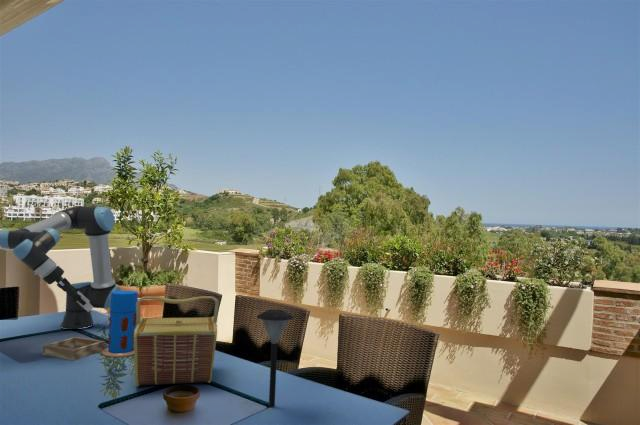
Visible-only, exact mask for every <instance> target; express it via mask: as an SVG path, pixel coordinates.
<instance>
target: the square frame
mask: <svg viewBox="0 0 640 425" xmlns="http://www.w3.org/2000/svg"><path fill="white" fill-rule="evenodd" d="M105 342H106V341H105V340H99V339H92V338H86V337H78V336H74V337H70V338H67V339H62V340H58V341H55V342H51V343H47V344H43V345H42V356H44V357H50V358H58V359H63V360H67V361H68V360H69V361H76V360H79V359H83V358H85V356H86V357H89V356H92V355H95V354H98V353H102V350H104V349H106V348H105V347H106V346H105V345H106V343H105ZM97 352H98V353H97ZM91 354H92V355H91ZM88 355H89V356H88Z"/></svg>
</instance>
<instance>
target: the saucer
mask: <svg viewBox="0 0 640 425" xmlns="http://www.w3.org/2000/svg"><path fill="white" fill-rule="evenodd" d="M133 354H134V351H132V352H128V353H110V352H109V347H106V348H104V350H102V351H101V355H102V356H105V357H109V358H123V356H125V357H130V356H129V355H132V356H134V355H133Z"/></svg>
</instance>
